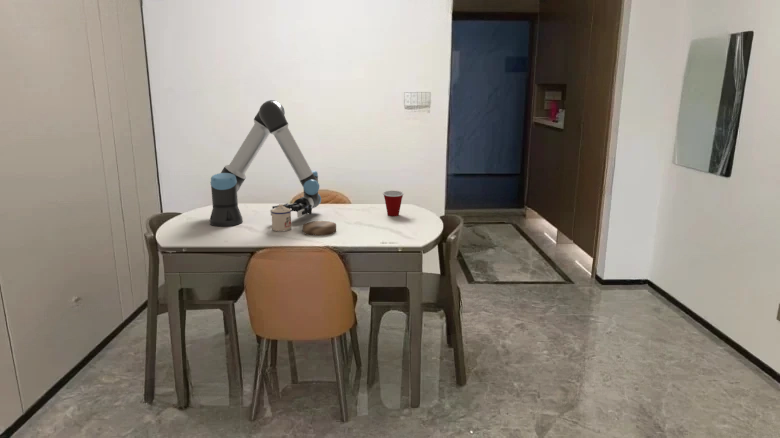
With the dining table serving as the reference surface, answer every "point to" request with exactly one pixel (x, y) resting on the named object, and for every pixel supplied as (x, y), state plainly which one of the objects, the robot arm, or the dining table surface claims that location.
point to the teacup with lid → (281, 218)
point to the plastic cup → (393, 202)
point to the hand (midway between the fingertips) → (284, 213)
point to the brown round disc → (319, 228)
